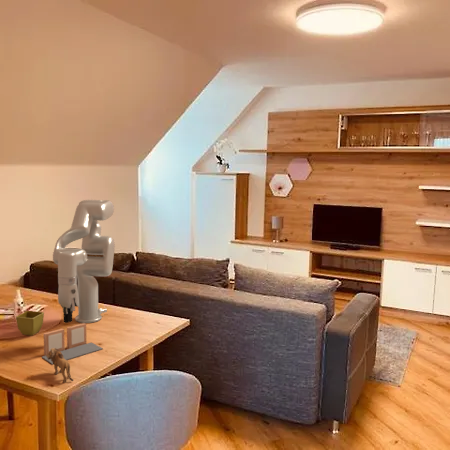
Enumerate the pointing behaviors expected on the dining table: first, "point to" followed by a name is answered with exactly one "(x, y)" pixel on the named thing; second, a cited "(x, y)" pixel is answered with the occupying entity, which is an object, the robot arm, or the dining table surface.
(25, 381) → the dining table surface
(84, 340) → the tile
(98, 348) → the felt mat
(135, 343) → the dining table surface
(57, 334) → the tile
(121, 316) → the dining table surface
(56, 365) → the lion figurine
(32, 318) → the flower pot
